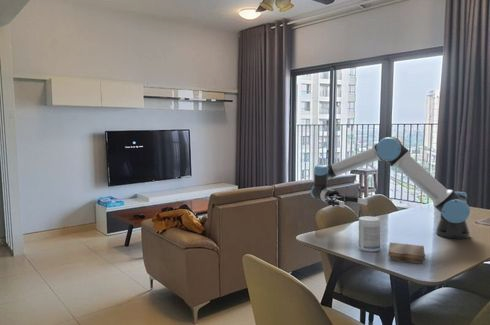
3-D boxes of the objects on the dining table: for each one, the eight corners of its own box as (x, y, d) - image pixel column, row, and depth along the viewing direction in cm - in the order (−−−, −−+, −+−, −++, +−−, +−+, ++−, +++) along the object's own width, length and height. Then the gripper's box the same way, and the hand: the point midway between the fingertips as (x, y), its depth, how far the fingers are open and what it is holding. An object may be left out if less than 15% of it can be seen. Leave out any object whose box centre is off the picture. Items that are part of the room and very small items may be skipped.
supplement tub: (384, 249, 172) (384, 218, 171) (371, 253, 167) (371, 221, 165) (367, 244, 180) (367, 214, 179) (354, 248, 175) (354, 217, 173)
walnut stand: (423, 254, 165) (423, 245, 164) (424, 265, 152) (424, 255, 151) (389, 250, 170) (389, 242, 170) (388, 261, 157) (388, 251, 157)
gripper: (349, 201, 205) (375, 209, 186) (310, 204, 196) (333, 213, 177) (349, 187, 205) (376, 194, 185) (310, 191, 196) (334, 198, 176)
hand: (355, 203), depth 181 cm, fingers open, 13 cm apart
